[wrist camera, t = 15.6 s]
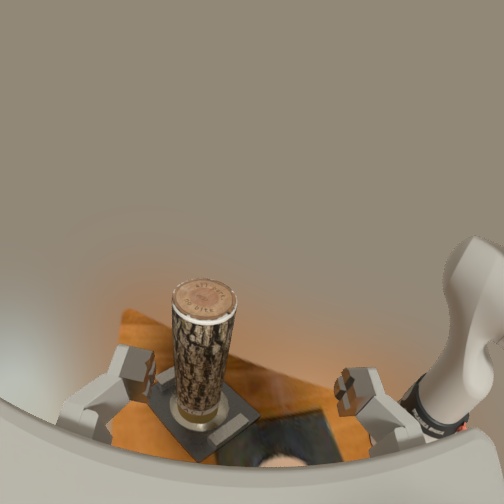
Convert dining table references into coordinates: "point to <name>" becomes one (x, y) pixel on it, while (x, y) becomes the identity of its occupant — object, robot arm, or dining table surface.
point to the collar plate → (200, 435)
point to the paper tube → (201, 345)
